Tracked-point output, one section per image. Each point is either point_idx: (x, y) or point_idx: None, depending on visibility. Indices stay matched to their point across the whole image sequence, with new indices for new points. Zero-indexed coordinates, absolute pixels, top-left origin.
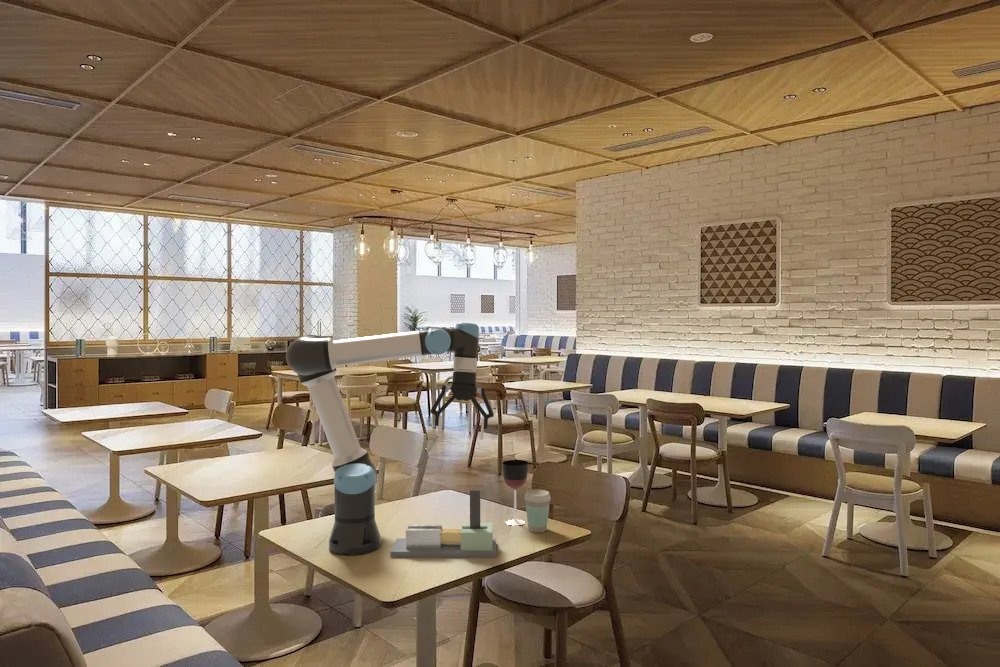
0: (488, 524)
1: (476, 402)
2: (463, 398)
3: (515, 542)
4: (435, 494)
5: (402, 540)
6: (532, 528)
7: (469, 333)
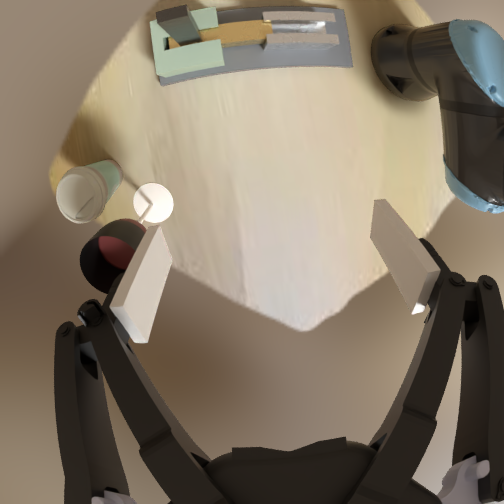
0: (163, 61)
1: (139, 427)
2: (282, 465)
3: (130, 102)
4: (321, 316)
5: (340, 56)
6: (110, 161)
7: None
